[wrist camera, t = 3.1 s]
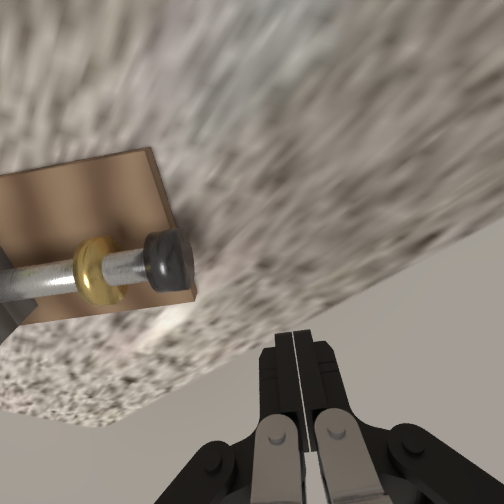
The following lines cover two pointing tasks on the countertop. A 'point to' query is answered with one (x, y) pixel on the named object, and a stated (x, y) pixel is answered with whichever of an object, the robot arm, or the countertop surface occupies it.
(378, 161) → the countertop surface
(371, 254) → the countertop surface
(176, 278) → the shaft
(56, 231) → the bearing block
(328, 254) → the countertop surface
